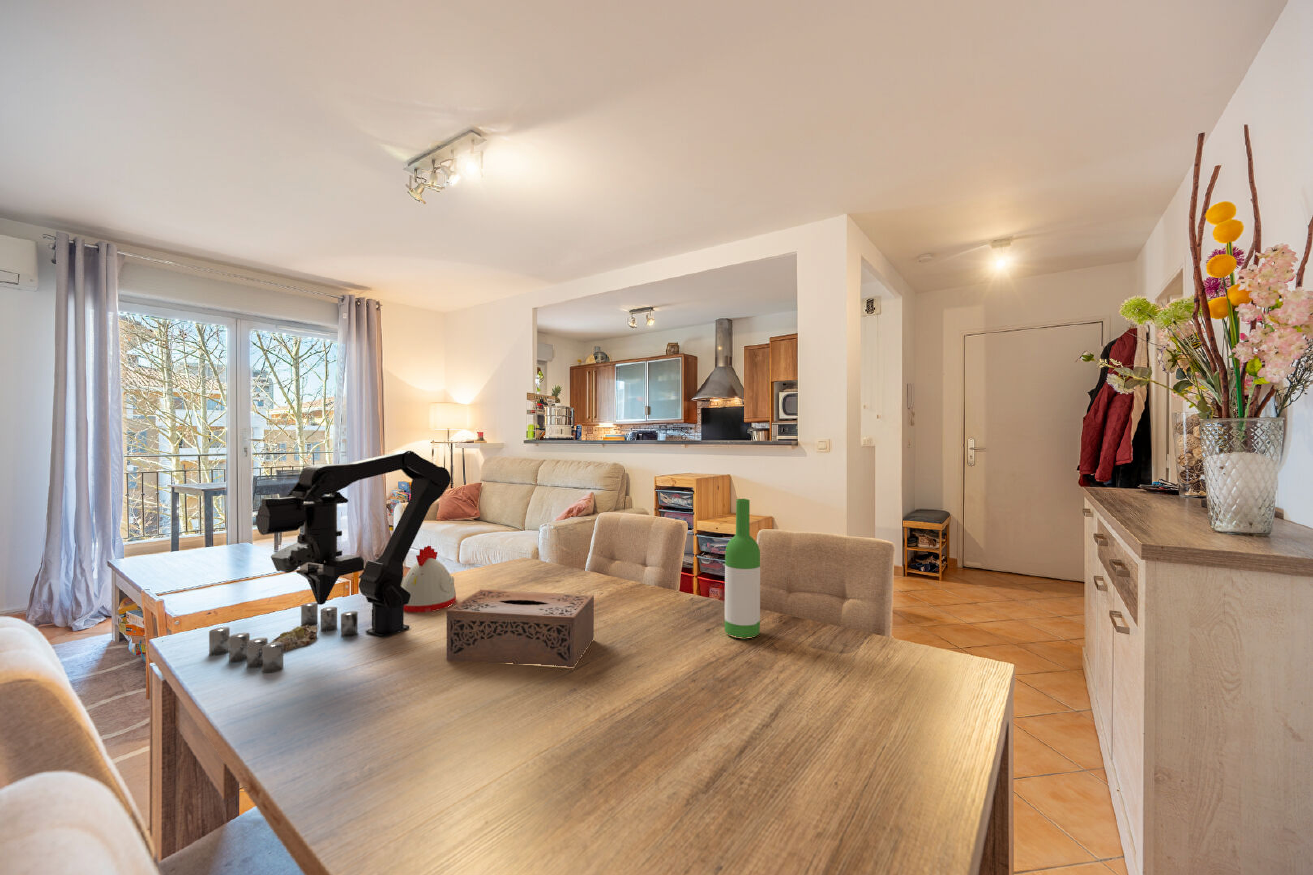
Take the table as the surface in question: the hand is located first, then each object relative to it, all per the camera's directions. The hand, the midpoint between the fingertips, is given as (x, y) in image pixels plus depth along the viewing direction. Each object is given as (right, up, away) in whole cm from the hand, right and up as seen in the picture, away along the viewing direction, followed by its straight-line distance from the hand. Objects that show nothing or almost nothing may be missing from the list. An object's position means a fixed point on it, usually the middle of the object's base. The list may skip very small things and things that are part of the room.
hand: (321, 604), depth 110 cm
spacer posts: (-8, -10, +4) cm, 13 cm away
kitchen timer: (+8, -10, +31) cm, 34 cm away
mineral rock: (-9, -10, +4) cm, 14 cm away
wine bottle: (+87, -10, +11) cm, 88 cm away
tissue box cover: (+41, -10, +2) cm, 42 cm away
